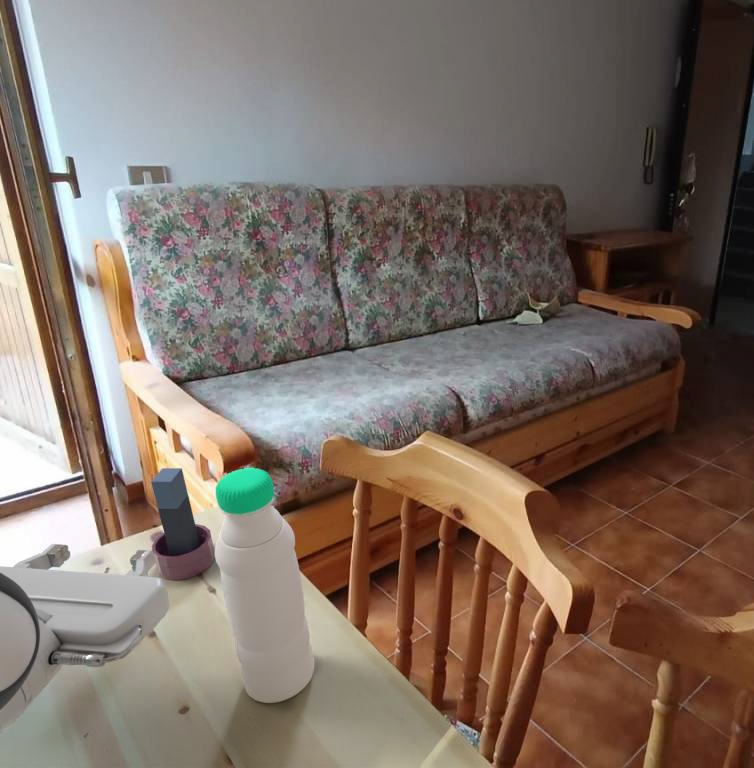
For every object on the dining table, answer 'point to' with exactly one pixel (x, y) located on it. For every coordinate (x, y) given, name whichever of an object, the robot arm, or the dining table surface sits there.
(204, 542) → the bowl
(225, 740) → the dining table surface
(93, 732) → the dining table surface
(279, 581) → the water bottle
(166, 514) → the eraser
